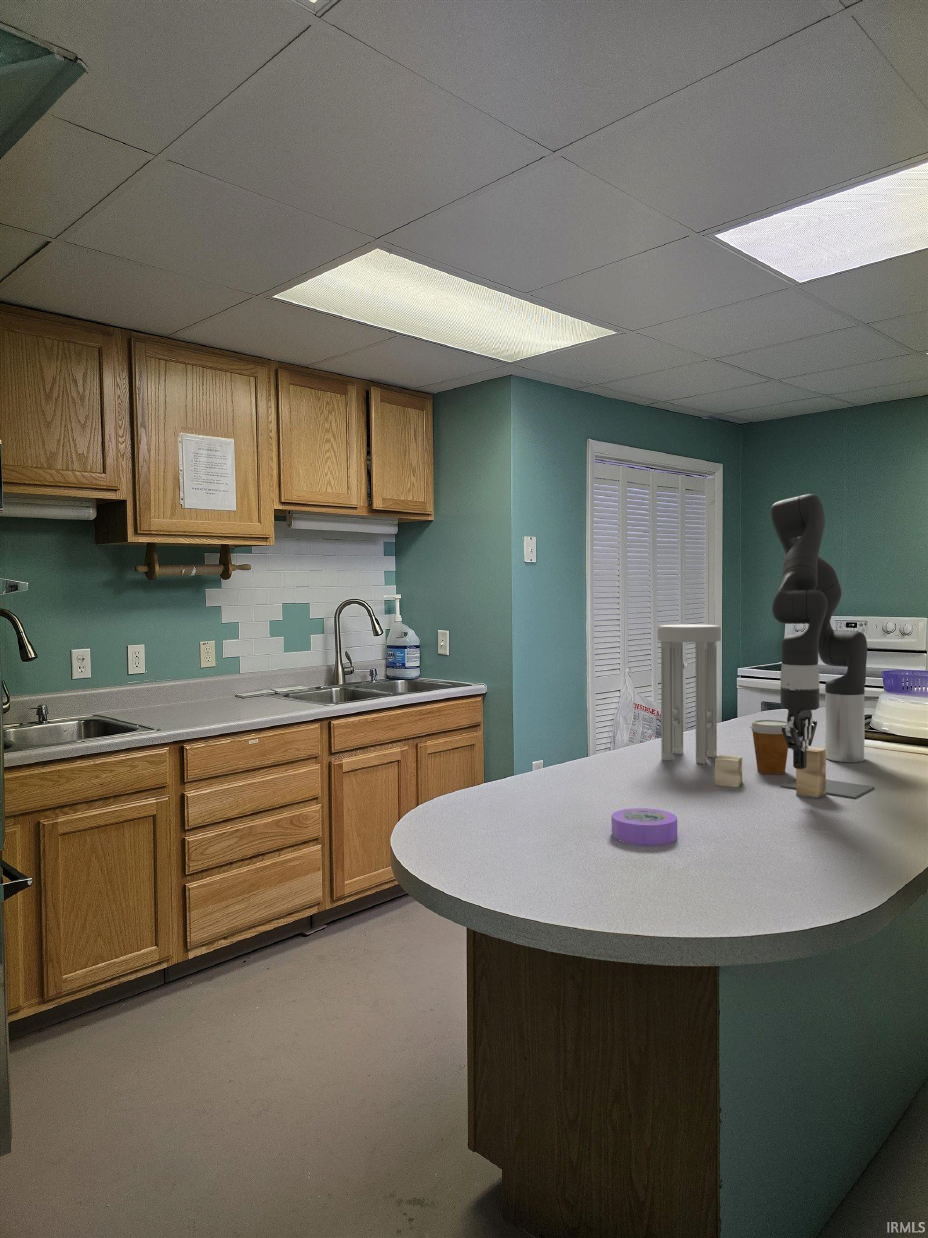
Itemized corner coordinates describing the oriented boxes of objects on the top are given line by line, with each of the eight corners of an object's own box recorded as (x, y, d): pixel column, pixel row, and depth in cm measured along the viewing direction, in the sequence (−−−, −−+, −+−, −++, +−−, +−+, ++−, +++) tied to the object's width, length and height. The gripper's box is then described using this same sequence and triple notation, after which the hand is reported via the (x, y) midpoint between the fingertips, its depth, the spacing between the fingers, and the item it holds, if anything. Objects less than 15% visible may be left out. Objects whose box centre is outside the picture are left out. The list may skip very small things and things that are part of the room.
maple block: (719, 780, 190) (719, 754, 190) (742, 782, 188) (742, 756, 188) (715, 785, 186) (715, 758, 186) (737, 787, 183) (737, 760, 183)
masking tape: (599, 831, 152) (599, 811, 152) (653, 824, 156) (653, 804, 156) (634, 850, 141) (634, 828, 141) (690, 842, 145) (690, 820, 145)
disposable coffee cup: (785, 767, 203) (785, 719, 202) (797, 776, 193) (797, 725, 193) (746, 767, 204) (746, 719, 203) (756, 775, 194) (755, 725, 194)
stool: (726, 755, 218) (726, 624, 217) (710, 766, 205) (710, 627, 204) (669, 750, 226) (669, 624, 225) (651, 760, 213) (650, 626, 212)
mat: (801, 777, 192) (801, 775, 192) (874, 788, 180) (874, 786, 180) (780, 786, 183) (780, 785, 183) (855, 798, 172) (855, 796, 172)
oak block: (804, 791, 179) (804, 746, 178) (825, 795, 175) (825, 748, 175) (796, 795, 175) (796, 749, 175) (817, 799, 172) (817, 752, 172)
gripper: (794, 681, 178) (794, 760, 178) (768, 687, 168) (768, 771, 169) (830, 684, 172) (830, 765, 173) (805, 690, 163) (805, 776, 164)
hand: (799, 768), depth 171 cm, fingers closed
